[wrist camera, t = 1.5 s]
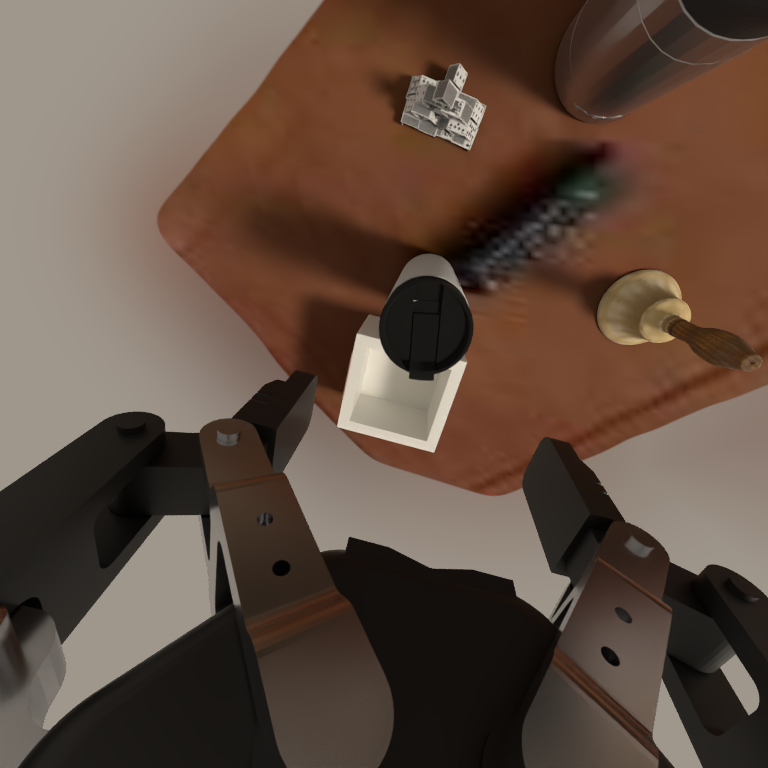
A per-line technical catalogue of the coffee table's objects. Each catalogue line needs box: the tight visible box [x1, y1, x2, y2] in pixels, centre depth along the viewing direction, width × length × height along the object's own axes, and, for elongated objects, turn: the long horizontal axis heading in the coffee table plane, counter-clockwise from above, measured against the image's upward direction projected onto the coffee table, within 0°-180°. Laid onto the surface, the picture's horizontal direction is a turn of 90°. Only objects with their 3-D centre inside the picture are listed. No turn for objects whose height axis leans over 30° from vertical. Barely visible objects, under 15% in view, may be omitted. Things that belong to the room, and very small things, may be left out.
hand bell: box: [597, 269, 762, 371], centre depth 32 cm, size 8×8×16 cm
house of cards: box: [401, 63, 486, 151], centre depth 30 cm, size 9×9×8 cm
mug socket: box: [337, 314, 467, 453], centre depth 42 cm, size 11×12×8 cm
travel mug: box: [379, 253, 473, 381], centre depth 32 cm, size 6×7×20 cm
